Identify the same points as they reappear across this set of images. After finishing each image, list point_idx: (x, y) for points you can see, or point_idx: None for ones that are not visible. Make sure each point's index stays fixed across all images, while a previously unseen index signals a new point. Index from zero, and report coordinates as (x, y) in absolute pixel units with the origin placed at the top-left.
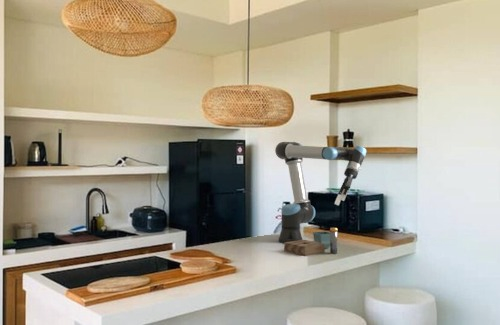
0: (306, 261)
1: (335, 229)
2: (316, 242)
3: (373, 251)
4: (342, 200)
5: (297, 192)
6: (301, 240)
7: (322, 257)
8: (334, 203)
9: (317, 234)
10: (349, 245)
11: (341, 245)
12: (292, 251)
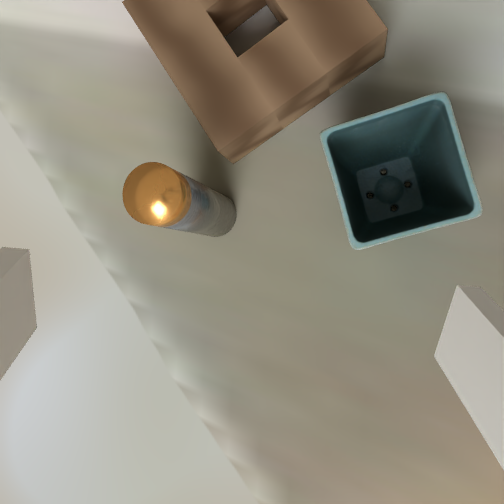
0: (30, 20)
1: (126, 199)
2: (265, 103)
3: (248, 487)
4: (27, 304)
5: None
6: (353, 6)
7: (109, 121)
8: (464, 286)
9: (367, 118)
10: None
11: None
12: None
